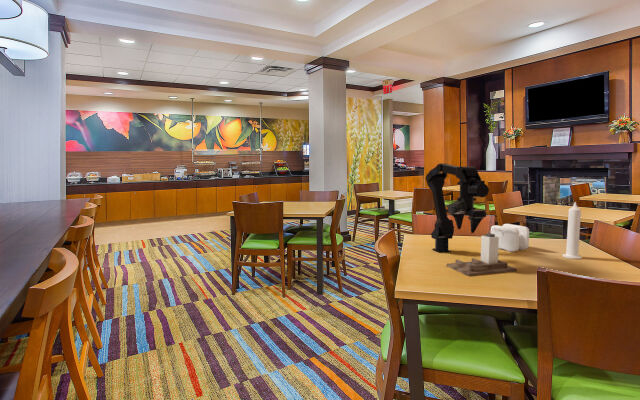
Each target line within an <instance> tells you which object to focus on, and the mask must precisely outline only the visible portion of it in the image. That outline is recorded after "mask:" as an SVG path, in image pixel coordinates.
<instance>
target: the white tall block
mask: <svg viewBox="0 0 640 400" xmlns="http://www.w3.org/2000/svg"><path fill="white" fill-rule="evenodd" d="M498 245H499V237H496V236H495V234H491V232H489V233H485V235H481V241H480V261H483V262H486V263H488V264H491V263H498V260H499V249H498Z"/></svg>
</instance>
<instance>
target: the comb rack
mask: <svg viewBox="0 0 640 400" xmlns="http://www.w3.org/2000/svg"><path fill="white" fill-rule="evenodd" d="M446 267H448V268H450V269H452V270H454V271H456V272H459V273H461V274H463V275H465V276H468V277H470V276H471V277H473V276H481V275H492V274H501V273H510V272H511V273H513V272H517V271H518V269H517V267H513V266H510V265H508V262H506V261H502V260H500V259H498V263H491V264H488V263H486V262H483V261H481V259H477V258H472V257H471V261H462V260H461V259H455V262H453V263H451V262H450V263H446Z"/></svg>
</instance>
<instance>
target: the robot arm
mask: <svg viewBox="0 0 640 400" xmlns="http://www.w3.org/2000/svg"><path fill="white" fill-rule="evenodd" d="M448 174H449V175H452V176H455V177H456V178H457V179H459V181H458V182H457V183H456V184H457V185H458V186H459V197H457V198H456V201H454V202H451V203H449V204H447V205H446V202H445V195H444V189H443V187H444V185H445V183H446V182H445V179H447V177H448ZM425 181H426V185H427V187H428V188H429V189H430V190H431V192H432V199H433V204H434V210H435V217H436V220H435V222H434V229H433V231H432V232H431V233H430V236H431V237H430V238H432V239H434V241H435V243H434V248H432V249H431V250H433V251H435V252H437V253H451V251H452V250H450V249H449V239H451V240H452V239H453V237H454V233H455V226H454V221H455V225H456V227H457V230H461V228H462V225H463V221H464V217H465V214H467V215H468V216H467V218H468V220H469V221H470V222H469V223H470V233H471V234H474V233H475V232H476V230H477V228H478V227H479V225H480V223H481V222H482V221H483V219H484V218H486V217H487V212H486V210H483V209H476V207H474V202H476V201H477V198H485V197H487V196H488V194H489V190H490V188H489V186H488V185H487V184H486V183H485V182H486V181H485V180H482V178H481V176H480V174H479V172H478V170H477V167H475V166H459V165H453V164H448V163H437V164H436V166H435V167H433V168H432V169H430V170H429V171H428V173H427V174H426V175H425ZM476 197H477V198H476ZM447 213H449V215H451V216H452V218H454V221H453V219H449V217H448V214H447Z"/></svg>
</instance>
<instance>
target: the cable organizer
mask: <svg viewBox="0 0 640 400" xmlns="http://www.w3.org/2000/svg"><path fill="white" fill-rule="evenodd" d="M490 233H491V234H495V236H496V237H499V245H498V250H505V251H506V252H510V253H512V252H517V251H518V250H521V251H523V250H527V249H528V248H529V247H530V229H529V227H527V226H524V225H518V224H511V223H504V224H502V225H498V224H496V225H492V226H491V227H490Z"/></svg>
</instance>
